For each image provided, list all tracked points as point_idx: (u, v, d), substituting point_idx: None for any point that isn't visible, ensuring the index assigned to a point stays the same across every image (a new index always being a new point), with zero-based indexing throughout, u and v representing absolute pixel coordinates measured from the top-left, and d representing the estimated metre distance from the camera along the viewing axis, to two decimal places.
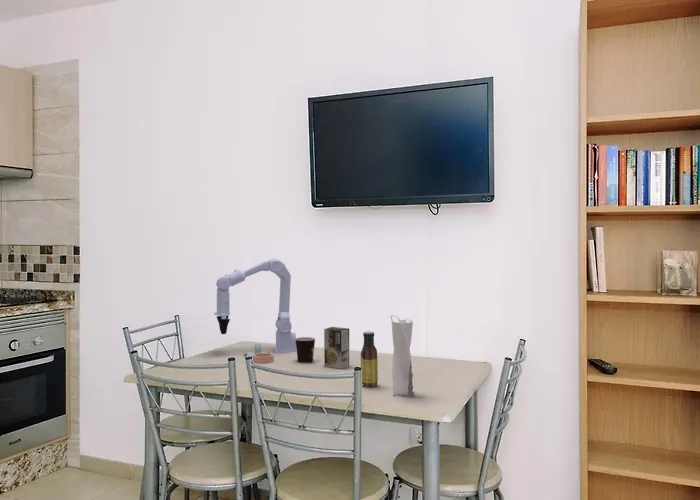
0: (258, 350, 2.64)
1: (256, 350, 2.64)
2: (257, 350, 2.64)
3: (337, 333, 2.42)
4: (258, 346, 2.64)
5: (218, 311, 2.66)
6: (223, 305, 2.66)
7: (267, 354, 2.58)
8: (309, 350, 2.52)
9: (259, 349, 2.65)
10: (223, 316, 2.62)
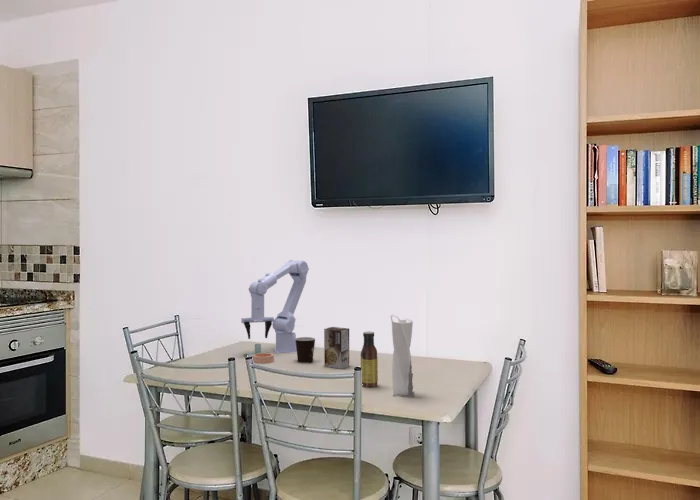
0: (258, 350, 2.64)
1: (256, 350, 2.64)
2: (257, 350, 2.64)
3: (337, 333, 2.42)
4: (258, 346, 2.64)
5: None
6: (251, 310, 2.64)
7: (267, 354, 2.58)
8: (309, 350, 2.52)
9: (259, 349, 2.65)
10: (241, 320, 2.63)
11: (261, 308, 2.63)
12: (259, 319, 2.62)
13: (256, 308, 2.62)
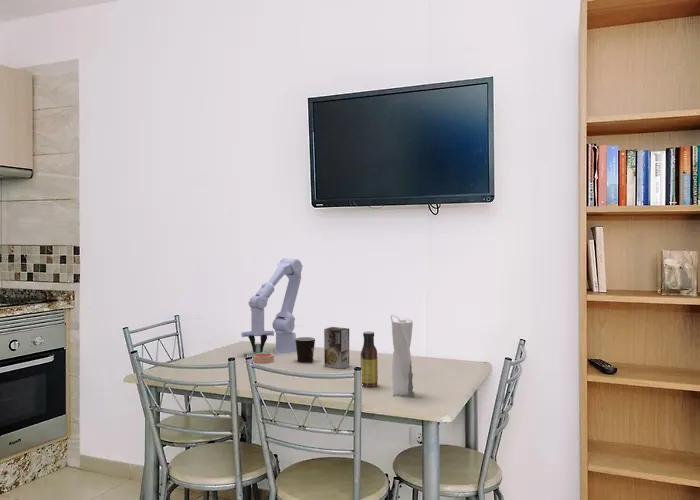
0: (258, 350, 2.64)
1: (256, 350, 2.64)
2: (257, 350, 2.64)
3: (337, 333, 2.42)
4: (258, 346, 2.64)
5: None
6: (251, 323, 2.64)
7: (267, 354, 2.58)
8: (309, 350, 2.52)
9: (259, 349, 2.65)
10: (241, 334, 2.63)
11: (261, 322, 2.63)
12: (259, 333, 2.63)
13: (256, 322, 2.62)
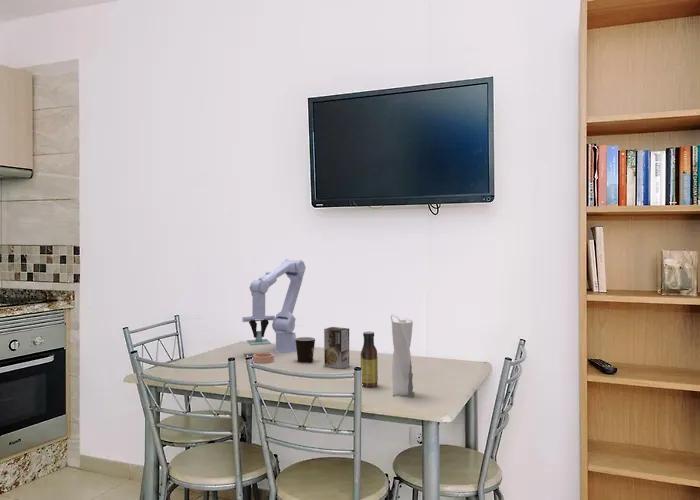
0: (259, 337, 2.62)
1: (257, 337, 2.62)
2: (258, 337, 2.62)
3: (337, 333, 2.42)
4: (259, 333, 2.62)
5: None
6: (252, 308, 2.61)
7: (267, 354, 2.58)
8: (309, 350, 2.52)
9: (260, 336, 2.62)
10: (242, 319, 2.60)
11: (263, 306, 2.61)
12: (261, 318, 2.60)
13: (258, 307, 2.60)
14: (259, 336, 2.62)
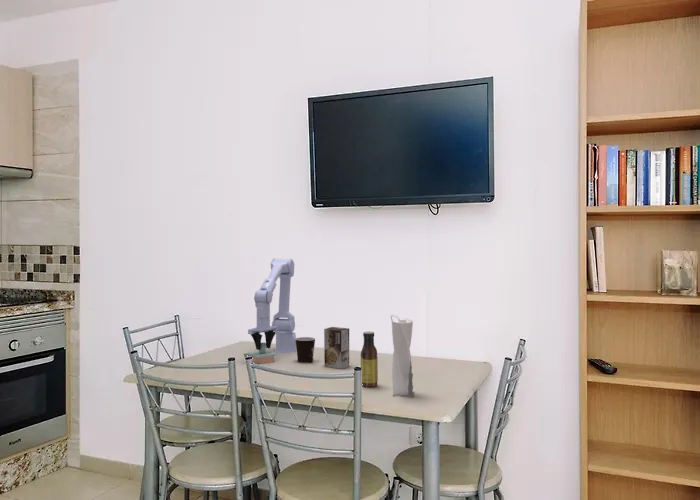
0: (264, 349, 2.54)
1: (262, 349, 2.53)
2: (263, 349, 2.53)
3: (337, 333, 2.42)
4: (264, 345, 2.54)
5: None
6: (257, 320, 2.52)
7: None
8: (309, 350, 2.52)
9: (264, 348, 2.54)
10: (249, 331, 2.49)
11: (269, 317, 2.53)
12: (268, 329, 2.52)
13: (265, 317, 2.51)
14: (263, 348, 2.54)
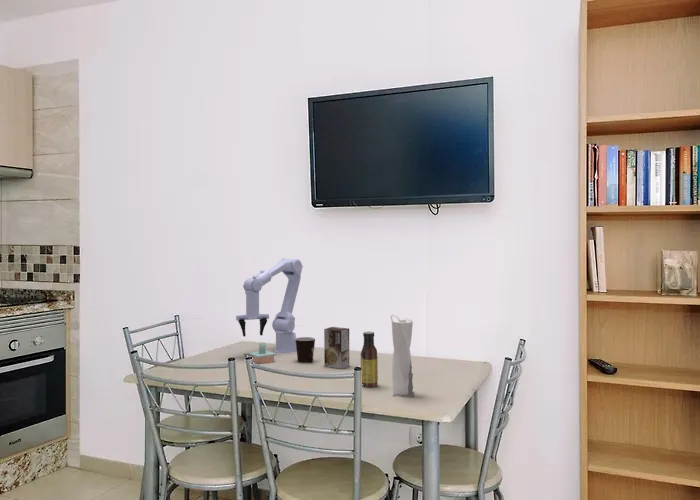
0: (264, 349, 2.54)
1: (262, 349, 2.53)
2: (263, 349, 2.53)
3: (337, 333, 2.42)
4: (264, 345, 2.54)
5: None
6: (246, 307, 2.60)
7: None
8: (309, 350, 2.52)
9: (264, 348, 2.54)
10: (236, 317, 2.59)
11: (256, 305, 2.59)
12: (254, 316, 2.58)
13: (251, 305, 2.58)
14: (263, 348, 2.54)
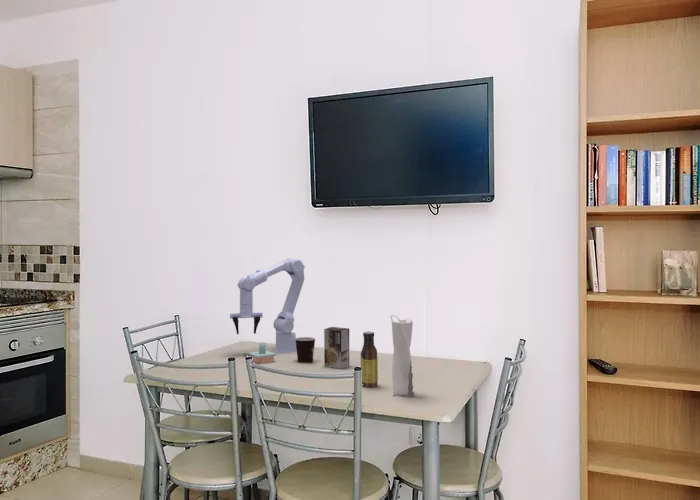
0: (264, 349, 2.54)
1: (262, 349, 2.53)
2: (263, 349, 2.53)
3: (337, 333, 2.42)
4: (264, 345, 2.54)
5: None
6: None
7: None
8: (309, 350, 2.52)
9: (264, 348, 2.54)
10: None
11: (248, 304, 2.63)
12: (247, 315, 2.63)
13: (243, 304, 2.63)
14: (263, 348, 2.54)
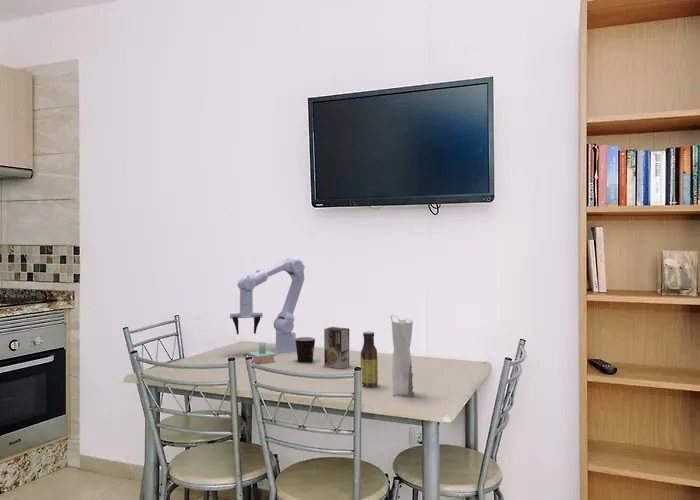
0: (264, 349, 2.54)
1: (262, 349, 2.53)
2: (263, 349, 2.53)
3: (337, 333, 2.42)
4: (264, 345, 2.54)
5: None
6: None
7: None
8: (309, 350, 2.52)
9: (264, 348, 2.54)
10: None
11: (248, 304, 2.63)
12: (247, 315, 2.63)
13: (243, 304, 2.63)
14: (263, 348, 2.54)
